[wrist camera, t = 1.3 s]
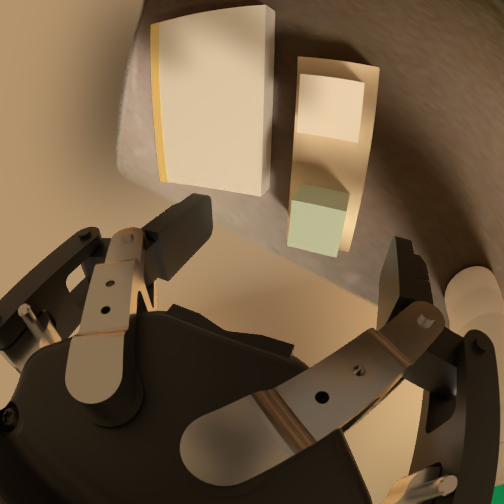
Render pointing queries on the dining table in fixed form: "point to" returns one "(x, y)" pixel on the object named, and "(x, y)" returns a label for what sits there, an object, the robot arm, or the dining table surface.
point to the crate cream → (330, 107)
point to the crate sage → (317, 219)
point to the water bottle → (489, 322)
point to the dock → (215, 98)
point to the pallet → (335, 143)
